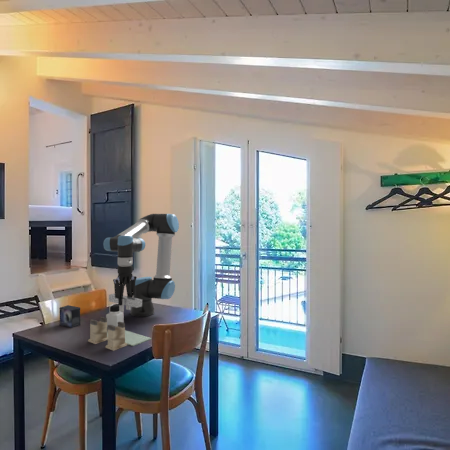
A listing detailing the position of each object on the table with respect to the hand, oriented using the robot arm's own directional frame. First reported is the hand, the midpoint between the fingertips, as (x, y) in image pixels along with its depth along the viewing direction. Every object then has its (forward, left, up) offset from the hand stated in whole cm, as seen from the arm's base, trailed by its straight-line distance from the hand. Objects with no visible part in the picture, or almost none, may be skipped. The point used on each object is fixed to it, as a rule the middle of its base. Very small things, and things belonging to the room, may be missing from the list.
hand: (124, 310), depth 182 cm
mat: (0, 0, -14) cm, 14 cm away
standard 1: (+11, -7, -14) cm, 19 cm away
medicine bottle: (-9, -20, -14) cm, 26 cm away
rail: (0, 0, +3) cm, 3 cm away
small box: (+6, -41, -14) cm, 44 cm away
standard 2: (+11, +7, -14) cm, 19 cm away
